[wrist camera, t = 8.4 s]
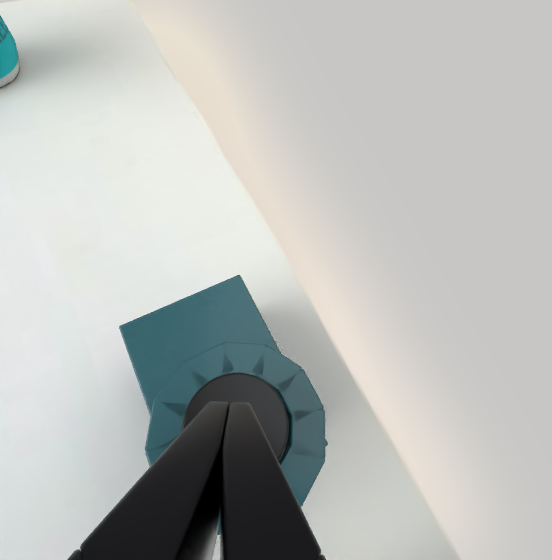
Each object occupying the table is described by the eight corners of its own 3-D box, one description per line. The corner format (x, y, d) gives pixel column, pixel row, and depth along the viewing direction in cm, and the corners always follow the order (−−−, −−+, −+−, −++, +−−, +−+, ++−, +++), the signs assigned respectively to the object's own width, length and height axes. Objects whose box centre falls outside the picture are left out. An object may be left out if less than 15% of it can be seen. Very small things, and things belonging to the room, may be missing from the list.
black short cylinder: (297, 450, 12) (307, 451, 10) (215, 497, 11) (206, 512, 9) (258, 370, 13) (259, 354, 11) (181, 409, 12) (165, 401, 10)
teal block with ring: (320, 461, 18) (358, 471, 12) (212, 527, 16) (187, 580, 10) (244, 310, 21) (241, 253, 15) (147, 355, 20) (97, 313, 13)
